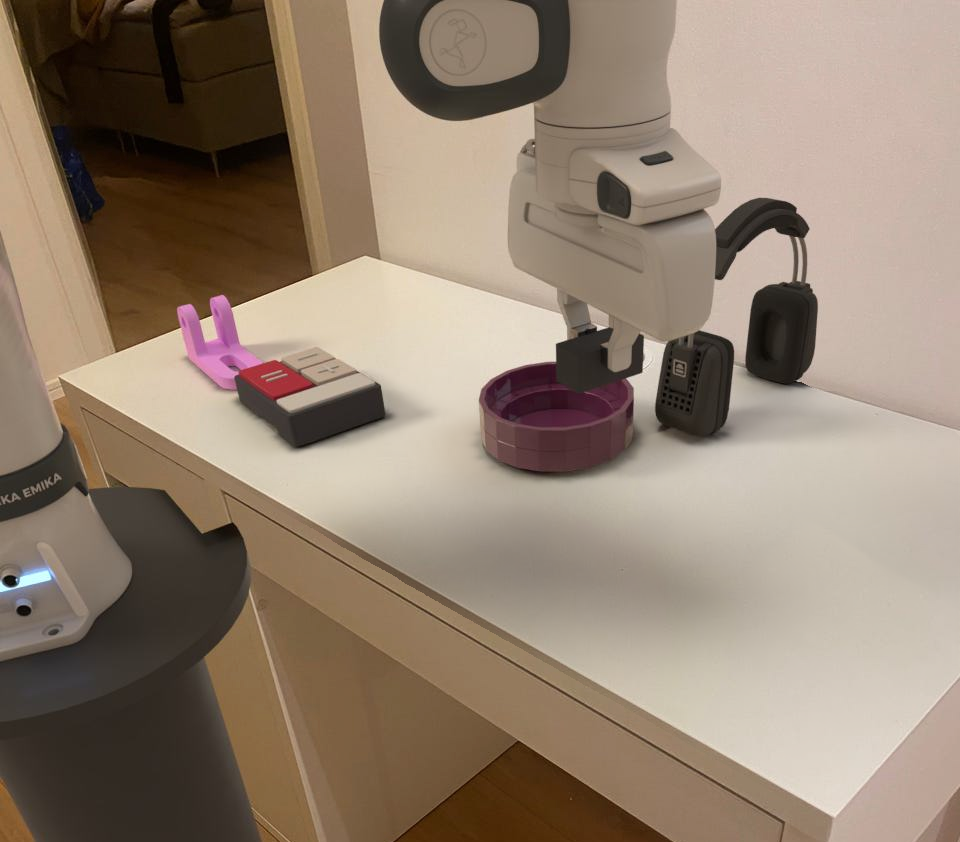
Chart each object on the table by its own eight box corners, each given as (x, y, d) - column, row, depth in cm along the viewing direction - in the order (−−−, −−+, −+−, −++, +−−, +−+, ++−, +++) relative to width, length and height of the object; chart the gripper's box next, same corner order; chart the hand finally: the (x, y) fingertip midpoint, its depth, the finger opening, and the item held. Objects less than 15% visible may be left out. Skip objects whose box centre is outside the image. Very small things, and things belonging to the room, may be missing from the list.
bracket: (189, 358, 123) (174, 303, 118) (230, 346, 125) (218, 291, 120) (228, 394, 114) (214, 335, 110) (273, 380, 116) (261, 322, 112)
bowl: (533, 493, 93) (531, 445, 90) (455, 431, 104) (452, 387, 100) (662, 447, 98) (665, 400, 95) (576, 392, 109) (577, 349, 106)
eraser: (578, 394, 74) (578, 356, 72) (555, 380, 76) (555, 343, 74) (643, 373, 76) (644, 335, 74) (619, 360, 78) (620, 323, 76)
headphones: (698, 449, 98) (716, 240, 85) (646, 430, 101) (656, 228, 89) (817, 372, 109) (849, 178, 96) (767, 357, 113) (791, 169, 100)
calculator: (318, 342, 115) (381, 377, 104) (325, 377, 117) (387, 416, 107) (230, 369, 110) (287, 409, 100) (239, 405, 113) (295, 448, 102)
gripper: (482, 141, 72) (492, 326, 81) (657, 203, 58) (647, 419, 67) (554, 126, 74) (557, 307, 83) (740, 182, 60) (720, 393, 69)
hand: (598, 357), depth 75 cm, fingers closed on eraser, 3 cm apart
